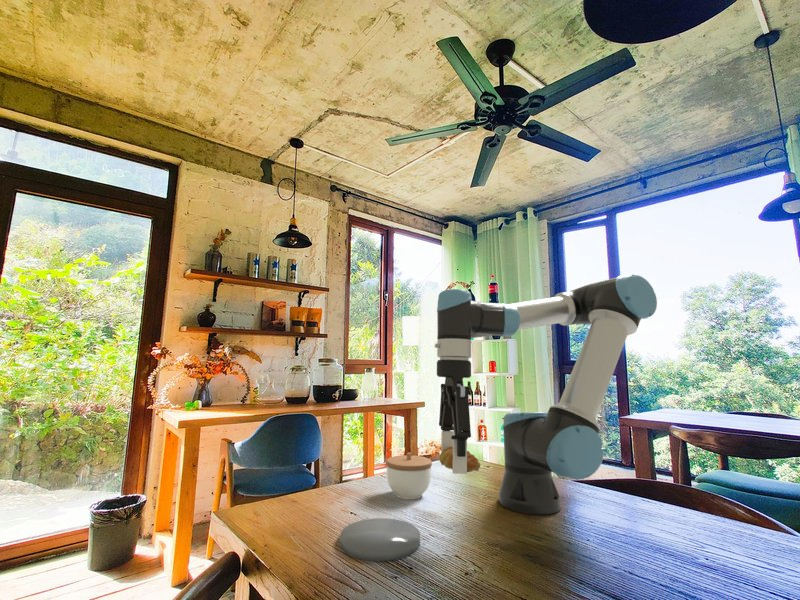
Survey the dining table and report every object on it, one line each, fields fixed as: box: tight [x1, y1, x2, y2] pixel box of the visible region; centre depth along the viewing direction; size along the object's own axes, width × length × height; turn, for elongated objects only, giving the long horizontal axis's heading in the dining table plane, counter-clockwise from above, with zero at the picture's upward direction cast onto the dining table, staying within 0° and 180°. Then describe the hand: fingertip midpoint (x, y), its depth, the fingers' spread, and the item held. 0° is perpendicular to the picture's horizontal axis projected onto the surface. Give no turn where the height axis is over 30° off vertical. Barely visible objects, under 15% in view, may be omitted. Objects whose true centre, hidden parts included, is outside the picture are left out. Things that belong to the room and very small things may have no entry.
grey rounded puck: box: [339, 517, 421, 562], centre depth 78 cm, size 16×16×2 cm
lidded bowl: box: [385, 452, 433, 501], centre depth 108 cm, size 13×13×11 cm
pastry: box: [438, 447, 481, 473], centre depth 82 cm, size 9×7×4 cm
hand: (453, 467), depth 82 cm, fingers closed on pastry, 9 cm apart
